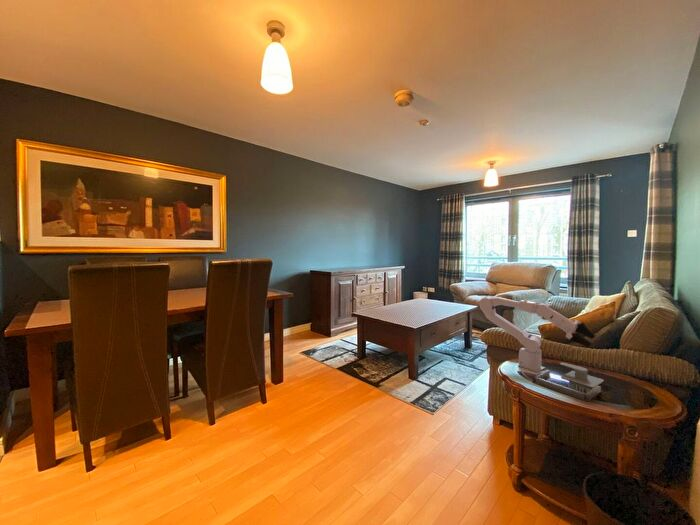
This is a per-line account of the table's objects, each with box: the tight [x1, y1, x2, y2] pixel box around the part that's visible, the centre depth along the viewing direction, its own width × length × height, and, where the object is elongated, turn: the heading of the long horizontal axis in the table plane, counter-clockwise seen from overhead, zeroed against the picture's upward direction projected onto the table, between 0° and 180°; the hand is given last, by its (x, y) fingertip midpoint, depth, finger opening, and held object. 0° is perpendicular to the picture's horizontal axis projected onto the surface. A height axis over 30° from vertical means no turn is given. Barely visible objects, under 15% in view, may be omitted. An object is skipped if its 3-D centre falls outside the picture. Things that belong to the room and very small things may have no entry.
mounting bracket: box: [532, 369, 602, 403], centre depth 127 cm, size 20×13×2 cm, turn 32°
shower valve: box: [559, 362, 605, 389], centre depth 135 cm, size 12×6×15 cm
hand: (592, 341), depth 132 cm, fingers open, 7 cm apart
